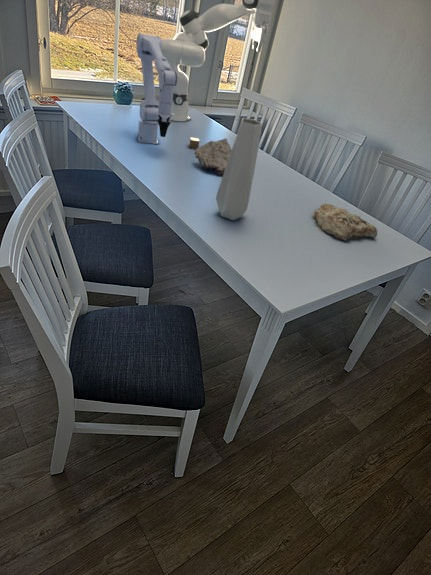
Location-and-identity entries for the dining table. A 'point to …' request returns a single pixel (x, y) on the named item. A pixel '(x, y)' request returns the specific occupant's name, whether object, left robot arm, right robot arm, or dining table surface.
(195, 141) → the block
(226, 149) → the rock
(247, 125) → the vase
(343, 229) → the stone
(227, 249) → the dining table surface
